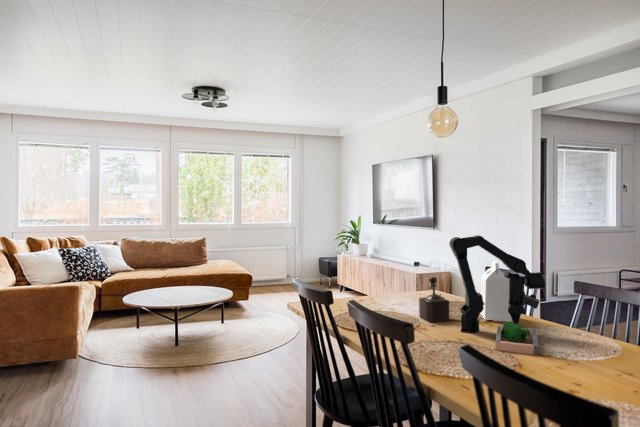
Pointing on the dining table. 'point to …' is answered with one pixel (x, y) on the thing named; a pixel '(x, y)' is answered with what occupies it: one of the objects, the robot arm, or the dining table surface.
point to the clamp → (514, 331)
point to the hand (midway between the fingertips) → (516, 326)
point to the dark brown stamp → (434, 306)
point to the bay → (517, 344)
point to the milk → (495, 294)
